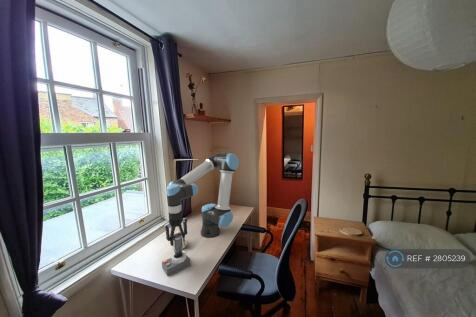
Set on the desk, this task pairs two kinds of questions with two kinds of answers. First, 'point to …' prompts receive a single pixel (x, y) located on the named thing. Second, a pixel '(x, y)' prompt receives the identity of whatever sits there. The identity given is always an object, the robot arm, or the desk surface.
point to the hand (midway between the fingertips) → (178, 248)
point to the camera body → (175, 263)
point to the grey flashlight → (178, 245)
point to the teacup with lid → (183, 241)
